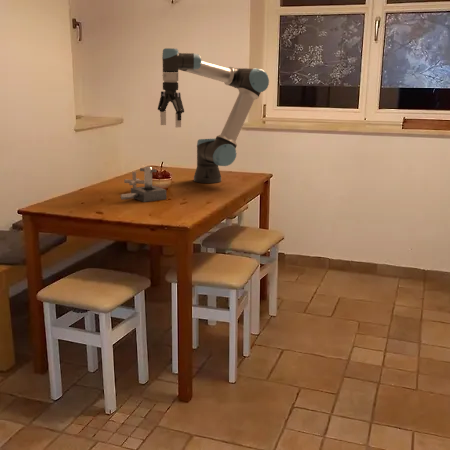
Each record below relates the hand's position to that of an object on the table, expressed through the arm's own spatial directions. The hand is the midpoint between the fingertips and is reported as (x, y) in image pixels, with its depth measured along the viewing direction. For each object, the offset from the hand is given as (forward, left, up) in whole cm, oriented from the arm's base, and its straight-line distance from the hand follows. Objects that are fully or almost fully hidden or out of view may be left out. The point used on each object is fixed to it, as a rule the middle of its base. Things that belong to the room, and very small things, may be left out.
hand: (170, 126), depth 291 cm
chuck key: (+20, +12, -31) cm, 39 cm away
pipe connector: (+18, -5, -32) cm, 37 cm away
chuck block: (+24, +12, -32) cm, 42 cm away
